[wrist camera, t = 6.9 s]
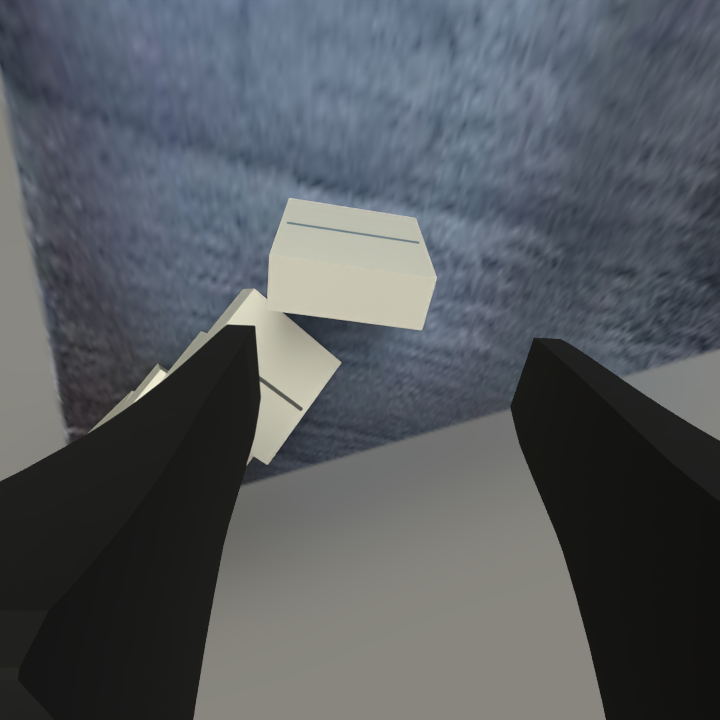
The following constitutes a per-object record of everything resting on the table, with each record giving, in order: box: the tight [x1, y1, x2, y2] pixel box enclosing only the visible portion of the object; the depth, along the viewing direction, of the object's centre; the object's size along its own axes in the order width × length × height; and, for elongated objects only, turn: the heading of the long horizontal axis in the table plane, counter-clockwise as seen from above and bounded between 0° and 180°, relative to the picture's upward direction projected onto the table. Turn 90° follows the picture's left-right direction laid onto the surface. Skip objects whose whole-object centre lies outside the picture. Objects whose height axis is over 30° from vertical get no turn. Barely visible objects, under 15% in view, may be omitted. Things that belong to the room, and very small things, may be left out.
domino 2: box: [267, 198, 437, 330], centre depth 16 cm, size 5×2×5 cm, turn 81°
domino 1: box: [185, 289, 342, 465], centre depth 19 cm, size 5×2×5 cm
